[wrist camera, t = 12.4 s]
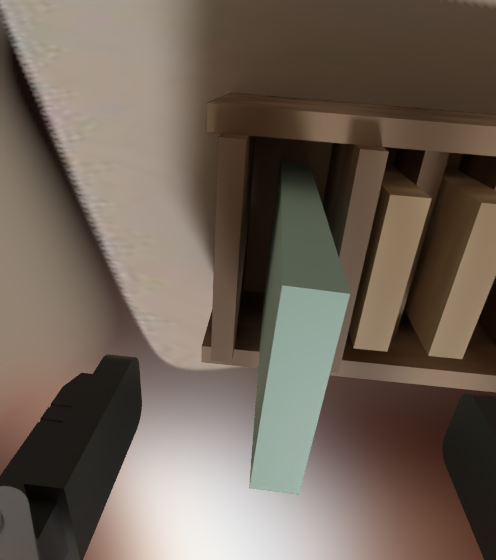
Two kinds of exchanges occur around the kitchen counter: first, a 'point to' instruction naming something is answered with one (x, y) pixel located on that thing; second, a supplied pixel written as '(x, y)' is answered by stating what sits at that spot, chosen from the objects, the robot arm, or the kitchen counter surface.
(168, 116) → the kitchen counter surface
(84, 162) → the kitchen counter surface
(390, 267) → the pine offcut
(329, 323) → the sage board
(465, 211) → the pine offcut
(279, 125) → the rack
